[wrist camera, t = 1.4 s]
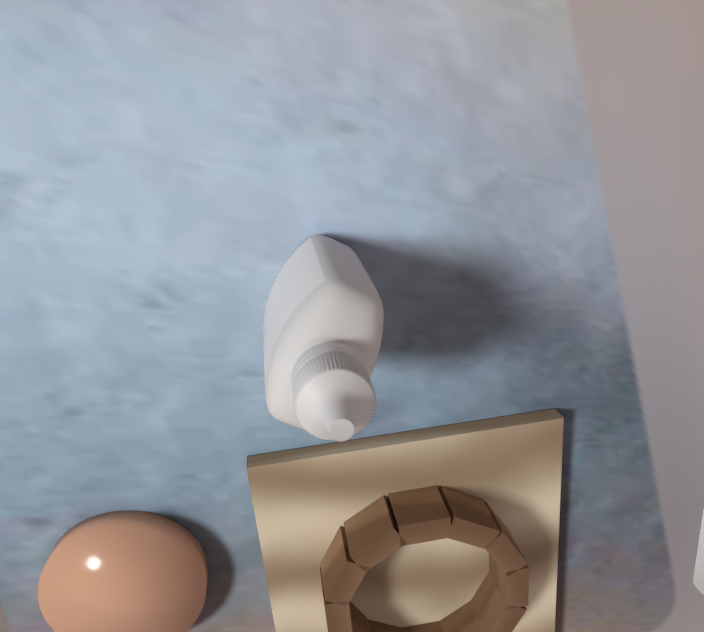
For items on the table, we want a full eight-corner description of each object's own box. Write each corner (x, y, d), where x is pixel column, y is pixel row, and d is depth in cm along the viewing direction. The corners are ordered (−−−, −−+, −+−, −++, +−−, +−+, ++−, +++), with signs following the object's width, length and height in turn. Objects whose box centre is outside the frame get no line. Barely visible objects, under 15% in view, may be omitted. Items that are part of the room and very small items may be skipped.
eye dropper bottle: (229, 292, 27) (207, 434, 16) (330, 218, 26) (382, 310, 15) (288, 362, 29) (306, 536, 17) (385, 293, 28) (468, 427, 17)
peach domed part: (28, 523, 30) (16, 545, 28) (191, 493, 31) (187, 513, 29) (72, 643, 33) (63, 669, 31) (221, 613, 33) (219, 637, 32)
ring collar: (247, 456, 30) (245, 500, 27) (554, 408, 32) (588, 444, 28) (287, 685, 36) (290, 745, 32) (546, 635, 37) (574, 687, 34)
